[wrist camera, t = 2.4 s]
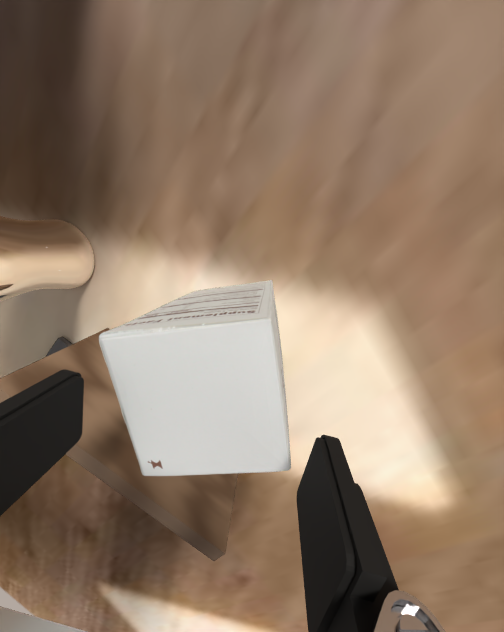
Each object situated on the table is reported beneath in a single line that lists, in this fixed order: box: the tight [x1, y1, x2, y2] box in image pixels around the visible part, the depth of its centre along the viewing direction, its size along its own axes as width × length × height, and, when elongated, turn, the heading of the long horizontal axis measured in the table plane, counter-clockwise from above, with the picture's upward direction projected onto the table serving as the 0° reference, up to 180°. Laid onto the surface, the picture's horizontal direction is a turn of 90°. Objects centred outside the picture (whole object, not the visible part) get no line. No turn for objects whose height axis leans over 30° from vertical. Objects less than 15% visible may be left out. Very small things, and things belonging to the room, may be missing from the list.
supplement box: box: [99, 280, 291, 476], centre depth 16 cm, size 7×7×13 cm
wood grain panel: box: [0, 328, 238, 561], centre depth 20 cm, size 18×1×10 cm, turn 48°
